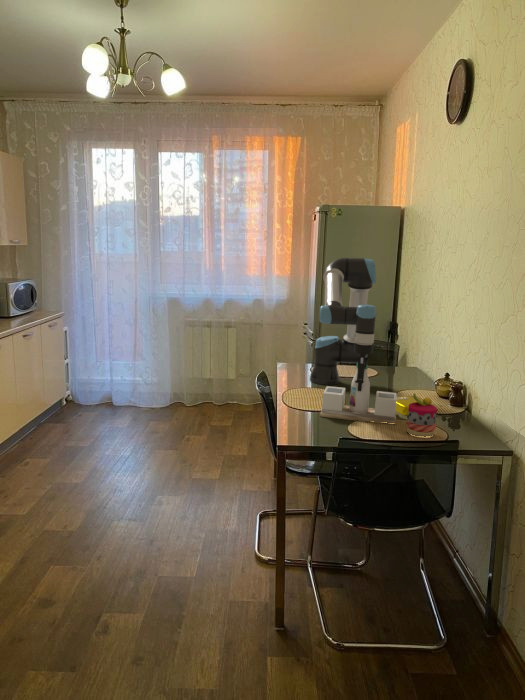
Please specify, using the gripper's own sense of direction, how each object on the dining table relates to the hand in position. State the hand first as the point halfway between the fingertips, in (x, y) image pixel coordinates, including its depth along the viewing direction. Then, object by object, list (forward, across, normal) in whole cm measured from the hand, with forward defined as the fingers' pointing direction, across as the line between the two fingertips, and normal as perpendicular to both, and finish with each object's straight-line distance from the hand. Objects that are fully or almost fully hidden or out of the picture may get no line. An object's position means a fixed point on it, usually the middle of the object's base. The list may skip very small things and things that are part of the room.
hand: (360, 394), depth 217 cm
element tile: (+10, -17, +21) cm, 29 cm away
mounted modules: (+7, 0, 0) cm, 7 cm away
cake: (+9, +15, +24) cm, 30 cm away
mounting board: (+9, 0, 0) cm, 9 cm away
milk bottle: (+8, 0, 0) cm, 8 cm away
